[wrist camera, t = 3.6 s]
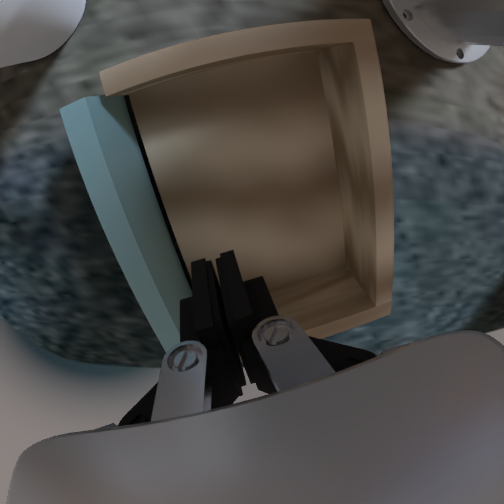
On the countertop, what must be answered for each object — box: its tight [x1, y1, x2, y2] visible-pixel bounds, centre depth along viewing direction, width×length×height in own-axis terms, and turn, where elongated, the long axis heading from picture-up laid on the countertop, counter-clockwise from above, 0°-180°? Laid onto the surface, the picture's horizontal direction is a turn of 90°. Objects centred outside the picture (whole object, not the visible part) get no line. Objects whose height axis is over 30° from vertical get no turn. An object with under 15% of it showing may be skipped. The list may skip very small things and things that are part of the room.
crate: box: [99, 19, 394, 362], centre depth 18 cm, size 18×12×6 cm
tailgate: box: [60, 95, 192, 353], centre depth 17 cm, size 16×1×7 cm, turn 13°
